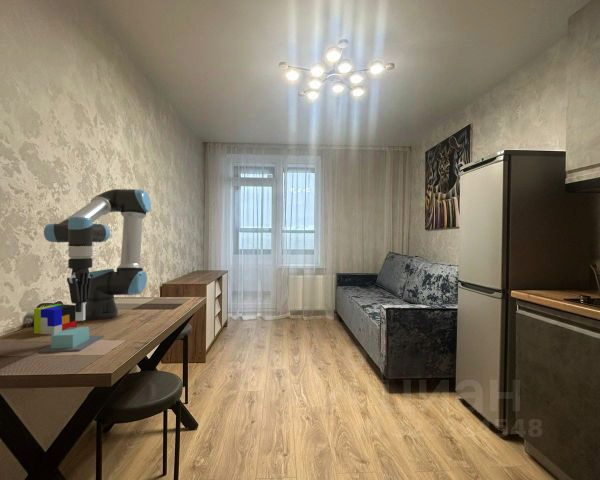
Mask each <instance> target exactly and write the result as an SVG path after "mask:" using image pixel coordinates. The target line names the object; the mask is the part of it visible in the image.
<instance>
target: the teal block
mask: <svg viewBox="0 0 600 480" xmlns="http://www.w3.org/2000/svg"><path fill="white" fill-rule="evenodd" d="M89 336H90V327H89V326H82V327H81V326H80V327H78V326H76V328H67V329H65V330H63V331H61V332H58V333H56V334H54V335H51V334H50V345H51V349H59V348H74V347H76V346H77V345H79V344H81V343H83V342H85V341H87V340H88V339H89Z"/></svg>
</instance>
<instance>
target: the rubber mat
mask: <svg viewBox="0 0 600 480" xmlns="http://www.w3.org/2000/svg"><path fill="white" fill-rule="evenodd" d="M102 338H104V335H103V334H102V335H101V334H100V335H89V339H88V340H87V341H85V342H83V343H81V344H79V345H77V346H76V347H74V348H59V349H51V344H49V345H48V346H46V347H45V346H44V347H43V348H41V349H40V350H38V352H37V353H39V354H41V353H42V354H43V353H62V352H63V353H65V352H66V353H67V352H68V353H69V352H81V351H82V350H84V349H86V348H87V347H89V346H91V345H92V344H94V343H96V342H97V341H99V340H101V339H102Z"/></svg>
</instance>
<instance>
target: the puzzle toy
mask: <svg viewBox="0 0 600 480" xmlns="http://www.w3.org/2000/svg"><path fill="white" fill-rule="evenodd" d="M76 327H77V321H75V304H65V303H62V304H59V303H57V304H52V305H47V306H43V307H42V306H41V307H37V308H33V333H34V334H37V335H38V334H39V335H41V334H42V335H50V336H51V335H54V334H56V333H58V332H61V331H63V330H65V329H67V328H76Z"/></svg>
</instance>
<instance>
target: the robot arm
mask: <svg viewBox="0 0 600 480" xmlns="http://www.w3.org/2000/svg"><path fill="white" fill-rule="evenodd" d="M151 210H152V202H151V198H150V195H149V193H148V191H146V190H144V189H137V188H135V189H134V188H133V189H130V188H129V189H127V188H124V189H118V188H116V189H115V188H114V189H109V190H106V191H104V192H102V193H99V194H98V195H95V196H94V197H93V198H91V200H90V202H89V203H88V204H86V205H85V206H83V207H82V208H80V209H79V210H77V211H76V212H74V213H73V214H71V215H70V216H68V217H67V218H65V219H64V220H62V221H61V222H59V223H55V222H54V223H49V224H47V225H46V226H45V227H44V230H43V237H44V239H45V240H46V241H47V242H49V243H58V244H59V243H68V249H67V252H68V260H67V262H68V264H67V267H68V268H67V269H69V270H71V276H70V277H66V282H67V284H68V290H69V296H70V302H71V303H72V304H71V305H75V321H76V322H78V321H79V322H80V321H82V322H83V321H85V320H87V321H88V320H89V321H95V320H97V321H98V320H103V319H104V320H105V319H109V318H110V319H111V318H113V317H114V318H115V317H117V316H118V315H119V309H118V307H117V303H116V302H115V296H135V295H139V294H140V295H141V293H143V291H144V290H145V288H146V285H147V281H148V275H147V272H146V271H145V270H144V267H143V266H141V251H142V250H141V249H142V232H143V219H144V218H145V217H147V213H149V212H150V211H151ZM116 212H117V213H120V215H121V216H122V217H123V223H122V224H123V226H122V236H121V237H122V241H121V253H120V264H119V265H118V266H117V267H116V271H115V269H114V268H105V269H101V270H94V271H93V270H92V271H90V270H89V269H90V268H91V269H92V267H93V258H92V257H93V243H103V242H106V241H108V239H110V237H111V230H110V228H109V227H108V226H106V225H104V224H101V223H94V222H96V221H97V220H98V219H100V218H101V217H102V216H106V215H108V214H109V213H116Z"/></svg>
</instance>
